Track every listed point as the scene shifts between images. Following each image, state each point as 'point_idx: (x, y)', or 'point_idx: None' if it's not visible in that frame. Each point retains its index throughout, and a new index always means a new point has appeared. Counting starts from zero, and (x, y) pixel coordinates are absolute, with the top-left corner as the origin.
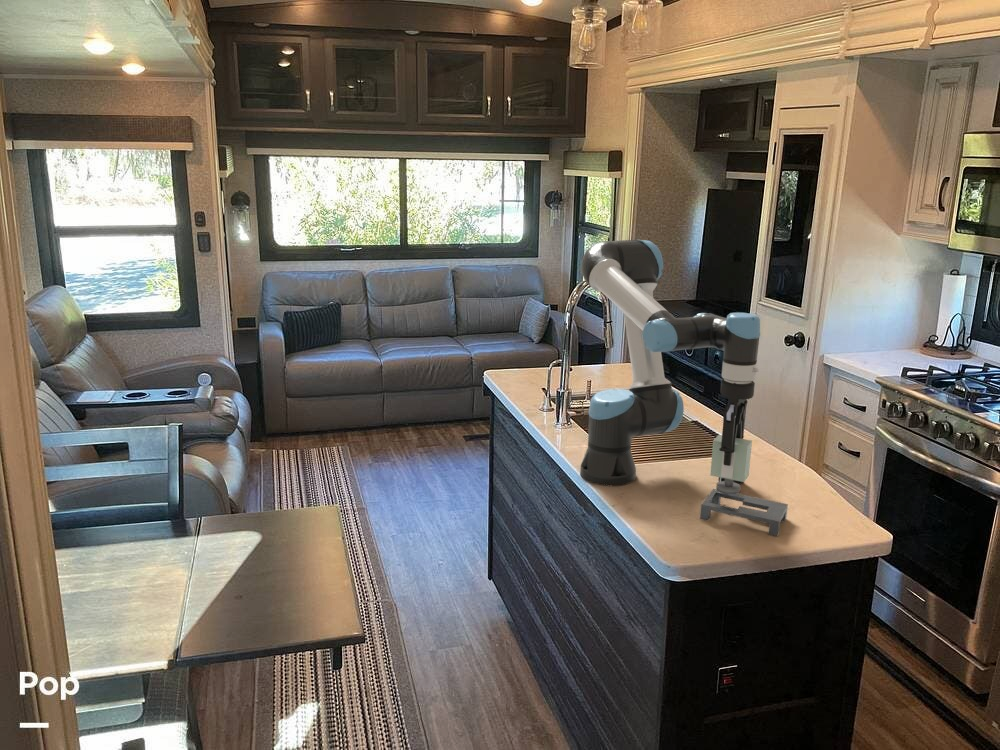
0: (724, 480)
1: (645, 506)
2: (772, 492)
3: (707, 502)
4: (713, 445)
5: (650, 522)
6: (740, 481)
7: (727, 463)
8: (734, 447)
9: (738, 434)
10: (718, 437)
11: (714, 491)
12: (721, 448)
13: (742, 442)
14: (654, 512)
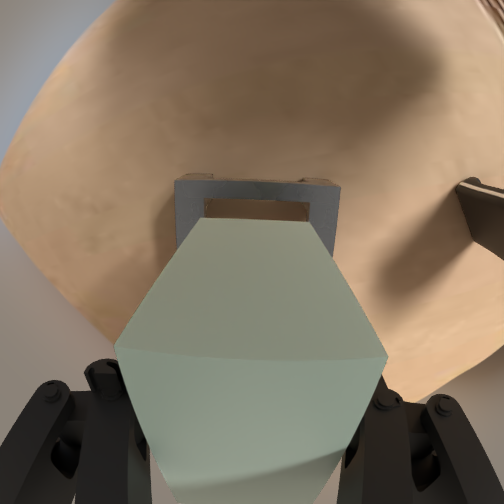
0: (463, 196)
1: (195, 15)
2: (441, 307)
3: (202, 195)
4: (137, 316)
5: (102, 70)
6: (473, 234)
7: None
8: (147, 456)
9: (342, 498)
10: (275, 381)
11: (315, 195)
12: (35, 396)
13: (238, 495)
14: (166, 49)
